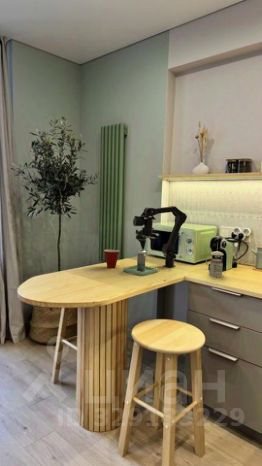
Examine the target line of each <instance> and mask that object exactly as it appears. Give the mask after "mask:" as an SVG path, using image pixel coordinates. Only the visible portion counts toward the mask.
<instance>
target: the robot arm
mask: <svg viewBox="0 0 262 466" xmlns="http://www.w3.org/2000/svg"><path fill="white" fill-rule="evenodd" d="M166 213H172V215H173V217H174V225H173V226H172V227H173V228H172V230H171V233H170V235H169V237H168V240H167V242H166V243H163V245H162V248H161V253H162V255H163V257H164V258H165V261H164V265H162V266H163V267H166V268H171V269H172V268H174V267H176V265H175V259H177V255H176V253H175V243H176V242H177V238H178V235H179V233H180V230H181V228H182V226H183V225H184V224H185V222H186V221H187V219H188V215H187V214H186V213H185V212H183V211H182V210H181V209H179V208H178V207H177V206H176V205H171V206H165V207H163V206H162V207H145V208H144V209H143V212H142V213H141V215H139V216H138V215H134V218H133V220H132V225H133V226H134V227H142V228H141V229H139V228H138V229H135V239H136V240H137V241H138V242H139V243H140V247H141V250H144V251H145V246H146V243H147V239H149V240H150V241H149V244H150V245H149V246H150V249H153V248H154V245H155V244H156V243H157V240H158V239H159V238H160V234H159V233H155V232H153V230H154V229H155V227H153V223H154V221H155V220H156V217H155V216H157V215H159V214H166Z"/></svg>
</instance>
